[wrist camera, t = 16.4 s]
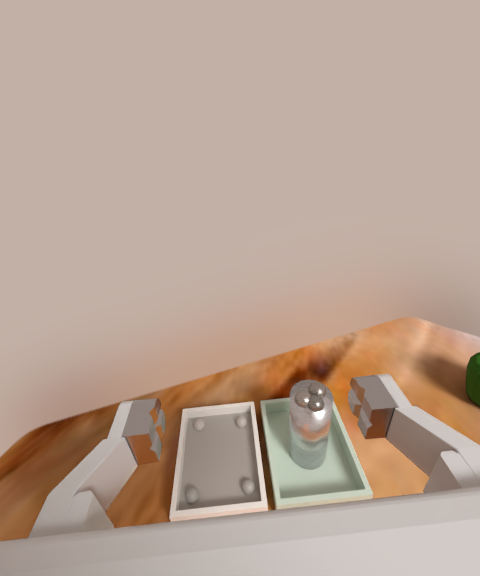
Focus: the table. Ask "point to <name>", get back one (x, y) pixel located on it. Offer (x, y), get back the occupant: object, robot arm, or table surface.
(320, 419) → the chrome tube with bumps
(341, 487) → the bin
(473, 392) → the bell pepper
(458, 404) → the table surface
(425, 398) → the table surface
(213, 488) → the bin
